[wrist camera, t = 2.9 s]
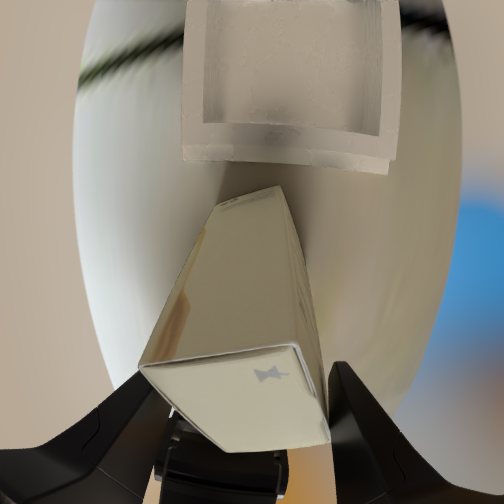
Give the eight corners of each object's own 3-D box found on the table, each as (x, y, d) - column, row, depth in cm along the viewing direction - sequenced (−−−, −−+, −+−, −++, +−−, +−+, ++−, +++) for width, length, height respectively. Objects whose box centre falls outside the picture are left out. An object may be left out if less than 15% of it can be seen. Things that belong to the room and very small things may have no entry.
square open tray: (383, 173, 15) (408, 188, 12) (185, 159, 16) (162, 171, 13) (386, -24, 9) (406, -45, 6) (194, -38, 9) (177, -63, 6)
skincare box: (213, 204, 17) (121, 357, 6) (281, 182, 16) (296, 330, 5) (248, 288, 20) (223, 457, 9) (308, 272, 19) (334, 447, 8)
